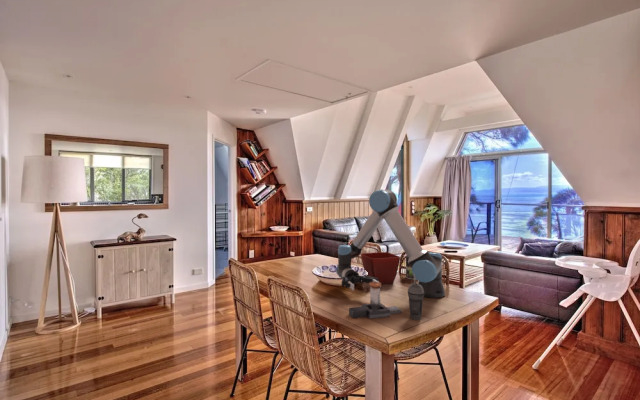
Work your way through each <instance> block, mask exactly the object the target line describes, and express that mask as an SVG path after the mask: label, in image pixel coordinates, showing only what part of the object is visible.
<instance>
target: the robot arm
mask: <svg viewBox="0 0 640 400" xmlns="http://www.w3.org/2000/svg"><path fill="white" fill-rule="evenodd" d="M397 198H398V197H397V195H396V193H394V192H393V191H392V190H390V189H377V190H375V191H373V192H372V193H371V194H370V196H369V198H368V199H369V200H368V203H369V204H368V205H369V207H370V208H371V210H372V212H371V214H370V215H369V216H368V218H367V219H366V221H365V222H364V223H363V225H362V227H361V228H360V230H359V231H358V232H357V234H356V236H355V237H354V238H353V240H351V241H352V242H351V243H350V245H349V244H340V245H338V247H337V248H338V249H337V260H338V261H337V262H338V264H337V265H338V266H336V268H335V269H336V270H335V272H336V273H335V274H336V275H338V277H339V278H341V287H342V288H343V287H345V289H348V288H349V289H350V290H352V291H355V285H356V284H365V283H366V284H369V283H370V282H378V278H374V277H370V276H366V274H364V275H360V274H359V272H357V271H356V270H355V269H352V260H353V259H355V258H359V256H361V254H362V250H363V248H365V246H366V244H367V243H368V242H369V240H370V239H371V238H372V236H373V234H374V233H375V232H376V231H377V230H378V228H379V226H380V225H381V223H382V222H383V220H384V221H385V222H386V224H387V226H388V227H389V229H390V230H391V231H392V233H393V235H394V237H395V238H396V240H397V242H398V243H399V244H400V246H401V248H402V249H403V251H404V253H405V254H406V256H408V257H409V260H408V263H409V264H410V266H411V268H412V273H413V276H414V273H415V278H416V279H417V280H416V281H418V284H420V285H421V286H422V287H423V289H424V297H423V298H430V299H434V298H438V299H439V297H440V298H443V296H444V297H445V296H446V290H445V287H444V283H443V279H442V278H443V277H442V275H443V273H442V271H443V256H442V254H441V253H440V252H430V251H428V250H425V249H424V248H423V247H422V245H421V244H420V242H419V241H418V239H417V237H416V236H415V234H414V233H413V232H412V230H411V229H410V227H409V225H408V224H407V223H406V221H405V219H404V218H403V215H401V212H400V211H399V205H398V199H397Z"/></svg>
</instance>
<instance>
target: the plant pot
mask: <svg viewBox="0 0 640 400" xmlns="http://www.w3.org/2000/svg"><path fill="white" fill-rule="evenodd" d="M360 257H361V262H362V268H363V270H366V271H367V272H368V275H367V276H370V277H374V278H378V282H380V283H381V285H385V284H386V285H387V284H394V282H395V280H396V277H397V273H398V271H399V266H400V261H401V256H400V255H396V254H393V253H391V252H389V251H387V252H386V251H384V252H383V251H382V252H365V253H364V252H361V254H360Z"/></svg>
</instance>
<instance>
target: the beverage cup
mask: <svg viewBox="0 0 640 400" xmlns="http://www.w3.org/2000/svg"><path fill="white" fill-rule="evenodd" d="M407 296H408V304H409V305H408V306H409V307H408V308H409V315H410V319H411V320H414V321H420V320H422V313H423V303H424V298H425V297H424V289H423V287H422V286H421V285H420V284H418V283H417V282H416V280H415V273H414V280H413V283H411V284H410V285H409V286H408V288H407Z"/></svg>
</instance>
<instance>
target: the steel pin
mask: <svg viewBox="0 0 640 400" xmlns="http://www.w3.org/2000/svg"><path fill="white" fill-rule="evenodd" d="M368 286H369V287H370V288H369V290H370V303H369V304H370V309H371V310H380V303H381V287H382V284H381V283H380V282H370V283H368Z"/></svg>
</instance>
